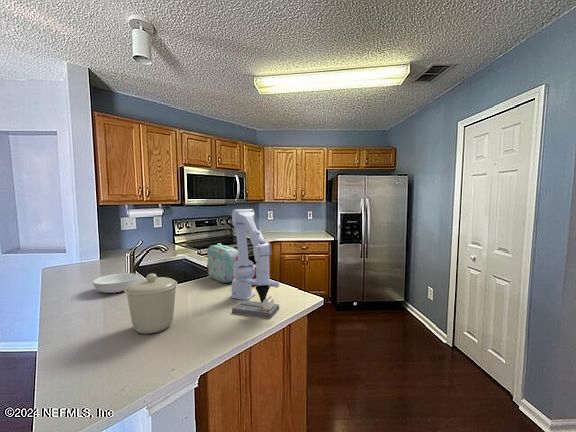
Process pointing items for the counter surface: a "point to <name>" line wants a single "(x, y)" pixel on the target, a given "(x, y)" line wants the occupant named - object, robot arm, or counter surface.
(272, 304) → the fader knob
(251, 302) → the fader console
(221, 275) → the lunch box
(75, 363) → the counter surface
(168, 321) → the canister
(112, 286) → the serving bowl
